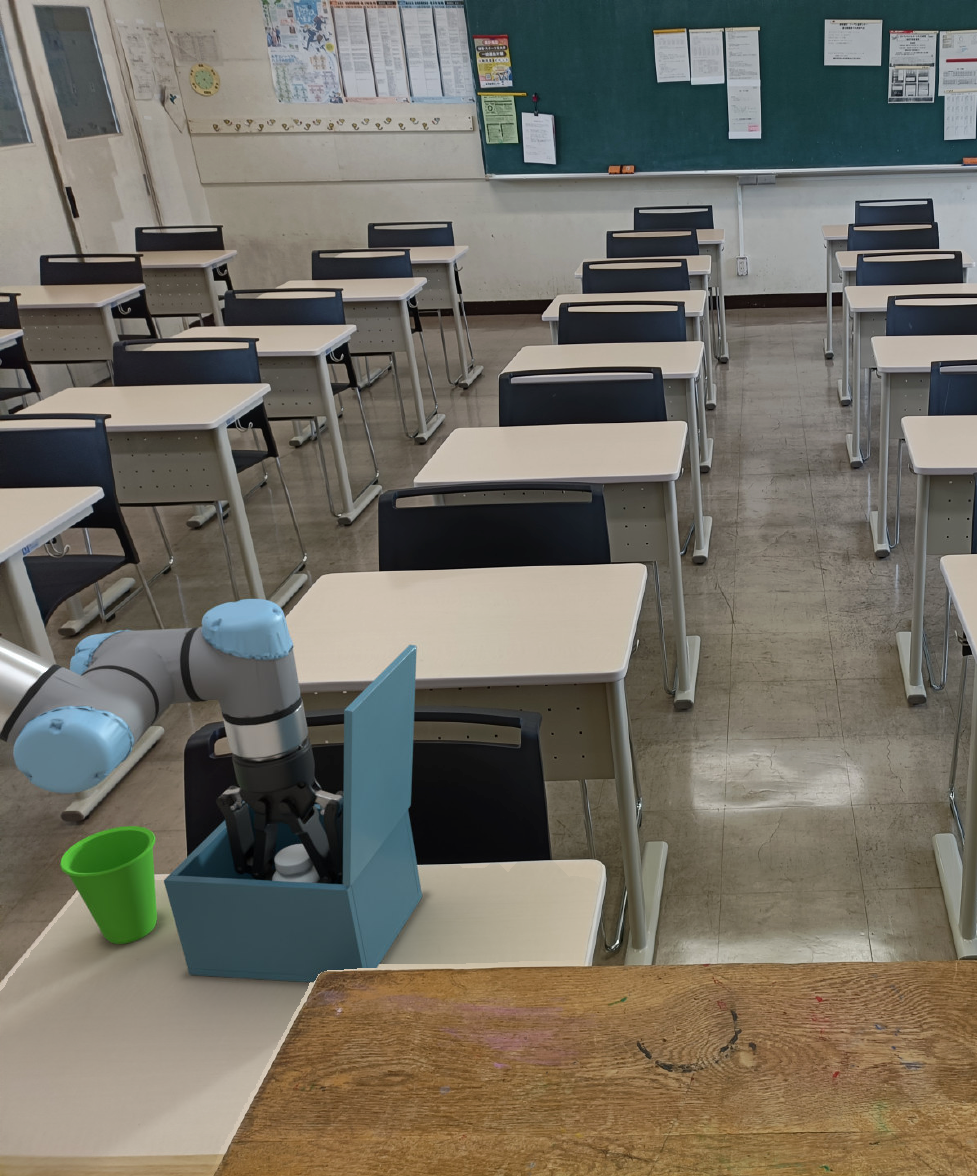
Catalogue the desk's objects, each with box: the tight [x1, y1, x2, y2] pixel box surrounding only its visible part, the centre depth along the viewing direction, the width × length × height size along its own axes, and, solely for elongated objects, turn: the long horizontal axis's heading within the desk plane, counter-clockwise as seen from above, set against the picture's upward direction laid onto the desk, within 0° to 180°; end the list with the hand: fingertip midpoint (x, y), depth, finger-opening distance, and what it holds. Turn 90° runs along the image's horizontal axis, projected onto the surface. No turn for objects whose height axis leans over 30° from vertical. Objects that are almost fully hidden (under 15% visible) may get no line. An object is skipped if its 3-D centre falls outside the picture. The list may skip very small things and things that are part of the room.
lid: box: [343, 644, 418, 887], centre depth 109 cm, size 21×15×1 cm
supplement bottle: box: [272, 844, 320, 883], centre depth 116 cm, size 5×5×10 cm
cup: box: [59, 825, 158, 945], centre depth 117 cm, size 9×9×11 cm
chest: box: [163, 803, 423, 983], centre depth 116 cm, size 20×15×12 cm
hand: (307, 922), depth 118 cm, fingers closed on supplement bottle, 5 cm apart
